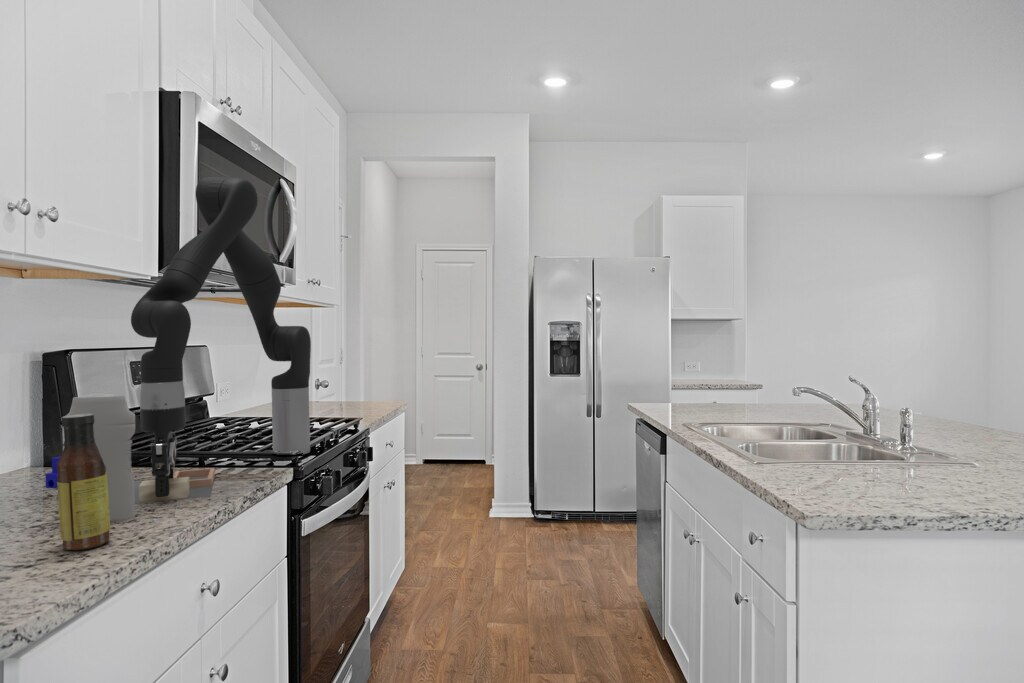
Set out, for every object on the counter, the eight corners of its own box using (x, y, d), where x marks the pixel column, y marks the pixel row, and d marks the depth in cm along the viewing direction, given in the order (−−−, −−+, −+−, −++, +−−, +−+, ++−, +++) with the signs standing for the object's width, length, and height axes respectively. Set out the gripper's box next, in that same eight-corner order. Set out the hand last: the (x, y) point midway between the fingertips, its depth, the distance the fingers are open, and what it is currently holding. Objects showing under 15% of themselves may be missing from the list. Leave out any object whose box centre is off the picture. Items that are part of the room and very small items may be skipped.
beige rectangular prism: (139, 502, 117) (138, 486, 117) (143, 496, 121) (142, 481, 121) (187, 497, 120) (187, 481, 120) (189, 491, 124) (189, 476, 124)
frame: (175, 478, 136) (175, 471, 136) (214, 474, 139) (214, 467, 139) (169, 490, 126) (169, 482, 126) (211, 486, 129) (211, 478, 128)
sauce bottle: (119, 537, 99) (116, 411, 98) (94, 552, 92) (90, 417, 92) (76, 538, 98) (73, 412, 98) (48, 553, 92) (44, 418, 92)
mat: (132, 483, 133) (132, 481, 133) (215, 476, 139) (215, 474, 139) (113, 508, 115) (113, 505, 115) (210, 498, 121) (210, 496, 121)
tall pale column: (61, 529, 103) (57, 395, 102) (71, 522, 107) (67, 393, 106) (134, 523, 106) (130, 393, 105) (141, 516, 110) (138, 390, 109)
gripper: (181, 408, 115) (183, 499, 115) (188, 400, 128) (190, 481, 129) (133, 410, 112) (136, 503, 112) (146, 402, 125) (148, 485, 126)
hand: (164, 491), depth 120 cm, fingers open, 6 cm apart
